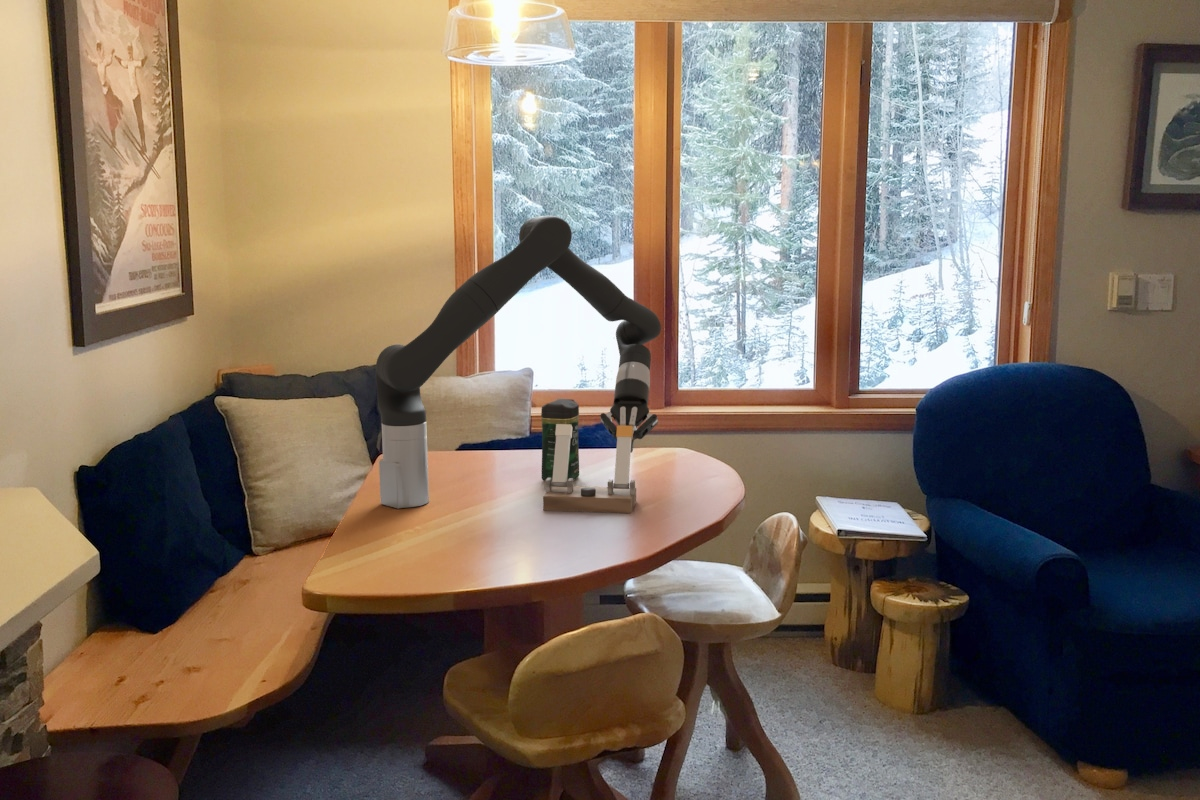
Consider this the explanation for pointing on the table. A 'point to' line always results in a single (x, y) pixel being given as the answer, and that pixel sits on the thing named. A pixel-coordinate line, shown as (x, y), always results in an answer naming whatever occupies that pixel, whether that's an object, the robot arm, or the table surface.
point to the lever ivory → (561, 455)
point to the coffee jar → (550, 416)
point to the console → (589, 498)
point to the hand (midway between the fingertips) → (625, 453)
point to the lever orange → (623, 457)
